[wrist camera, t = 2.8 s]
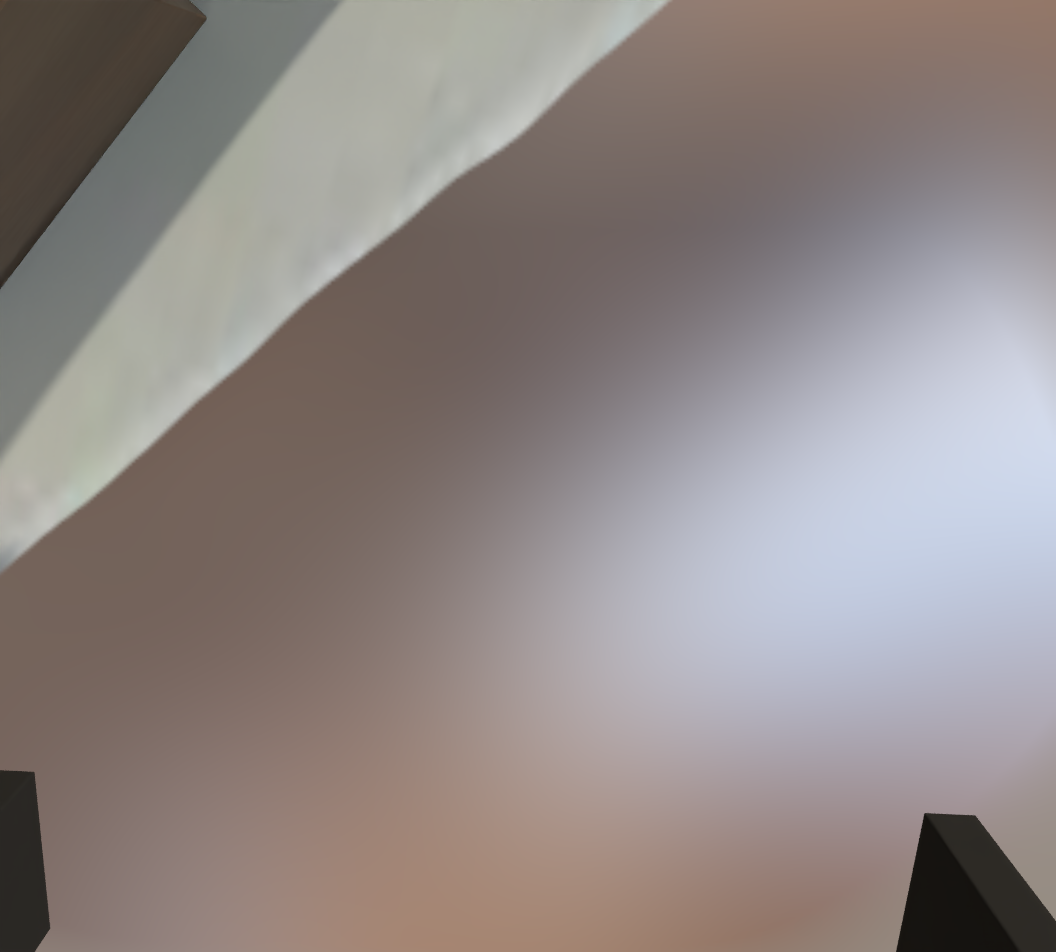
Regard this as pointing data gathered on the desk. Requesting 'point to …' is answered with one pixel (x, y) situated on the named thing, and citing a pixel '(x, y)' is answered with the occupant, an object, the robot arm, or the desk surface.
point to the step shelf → (72, 97)
